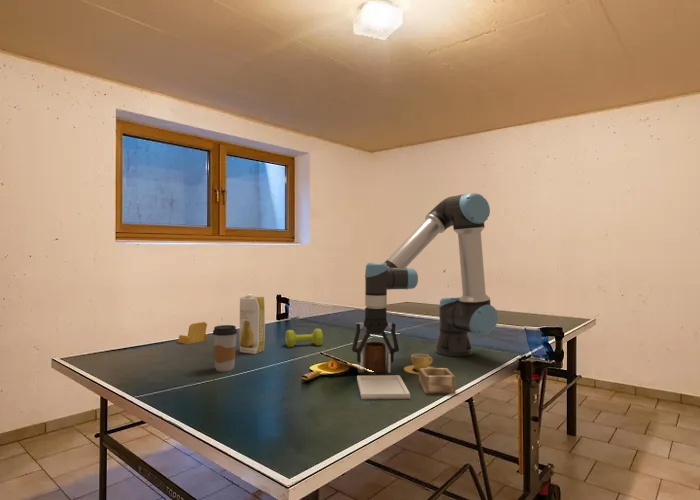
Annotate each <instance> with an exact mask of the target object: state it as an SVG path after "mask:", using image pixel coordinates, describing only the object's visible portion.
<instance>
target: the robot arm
mask: <svg viewBox="0 0 700 500" xmlns="http://www.w3.org/2000/svg"><path fill="white" fill-rule="evenodd" d="M490 212H491V208H490V204H489V202H488V200H487V199H486V198H485V197H484V195H482V194H480V193H475V192H471V193H468V192H467V193H463V194H459V195H452V196H448V197H446V198H444V199H443V200H441V201H439V203H438V204H437V205H435V207H434V208H433V209H432V210H430V212H428V213H427V214H426V215H425V218H424V221H423V222H422V223H421V224H420V225H419V226H418V227H417V228H416V229H415V230H414V232H412V233H411V235H410V236H409V237H407V238H406V240H405V241H404V242H403V243H402V244H401V245H399V247H398V248H397V249H396V250H395V251H394V252H393V253H392V254H391V255H390V256H389V258H387V259H386V260H385V261H384V262H368V263H366V265H365V272H364V273H365V274H364V278H365V285H364V286H365V288H364V289H365V291H364V293H365V296H364V299H365V301H364V305H365V307H364V320H363V322H358V321H357V322H356V323H355V328H356V330H355V334H354V337H353V341H352V345H351V351H352V352H353V353H356V361H357V363H359V367H360V366H361V367H363V368H364V352H363V349H364V346H365V343H367V342H368V339H369V337H370V336H371V335H381V336H382V338H383V340H384V343H385V345H386V347H387V349H388V352H387V351H386V352H387V354H386V355H387V356H386V358H387V359H386V360H387V361H386V363H387V365H386V368H387V369H386V370H387V373H389V374H390V373H391V369H392V367H391V365H392V364H391V363H394V357H395V356H394V355H395V353H398V352H400V347H399V343H398V338H397V333H396V323H395V322H388V321H387V311H388V309H387V305H388V302H387V301H388V295H387V294H388V293H387V292H388V290H389V291H390V290H410V289H411V290H413V289H415V288H416V287H417V286H418V283H419V275H418V272H417V271H416V269H415V268H409V267H408V266H409V265H410V264H411V263H412V262H413V261H414V260H415V259H416V258H417V256H418V255H420V254H421V253H422V251H423V250H424V249H425V248H426V247H427V246H428V245H429V244H430V243H431V242H432V241H433V240H434V239H436V236H438V235H439V234H442V233H444V232H445V231H446V230H447V229H448V228H450V227H453V231H454V232H455V233H456V234H457V239H458V240H457V241H458V252H459V263H460V273H461V274H460V277H461V291H462V295H461V296H460V297H444V298H443V297H442V298H441V299H440V300H439V307H438V308H439V331H438V332H439V334H438V336H437V338H436V339H437V340H436V343H435V345H434V351H435V353H436V354H439V355H442V356H447V357H468V356H471V355H473V346H472V343H471V339H470V337H469V333H472V334H474V335H480V336H483V335H484V336H485V335H488V334H490V333H492V331H494V329H495V327H497V323H498V320H499V313H498V311H497V309H496V308H495V307H494V306H493V305H491V298H490V297H489V295H487V294H486V293H487V292H486V282H485V269H484V267H485V266H484V255H483V243H482V231H483V230H484V229H485V222H486V221H488V218H489V217H490V214H491V213H490ZM363 327H365V329H366V331H365V332H364V335H363V337H362V339H361V342H360V343H359V337H360V334H361V330H362V329H363ZM387 327H388V329H390V333H391V338H392V342H393V347H392V345H391V342H390V340H389V338H388V336H387V334H386V332H385V330H386V328H387ZM358 343H359V345H358ZM357 346H358V347H357Z"/></svg>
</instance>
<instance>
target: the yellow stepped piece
mask: <svg viewBox="0 0 700 500" xmlns="http://www.w3.org/2000/svg"><path fill="white" fill-rule="evenodd" d="M207 327H208V323H206V321H203V322H202V321H201V322H194V323H191V324H190V325H189V327H188V331H187V335H183V334H179V336H178V339H177V343H179V344H183V345H184V344H185V345H189V344H194V343H199V342H204V341H207V338H208V333H207Z"/></svg>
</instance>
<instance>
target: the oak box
mask: <svg viewBox="0 0 700 500" xmlns="http://www.w3.org/2000/svg"><path fill="white" fill-rule="evenodd" d="M418 372H419V374H418V385H419V386H420V388H421V389H422V390H423V392H424V394H456V376H455V375H454V374H453V373H452V372H451V371H450V370H449V368H447V367H434V368H419V371H418Z"/></svg>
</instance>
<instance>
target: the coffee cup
mask: <svg viewBox="0 0 700 500" xmlns="http://www.w3.org/2000/svg"><path fill="white" fill-rule="evenodd" d="M236 326H237V325H232V324H230V325H229V324H224V325H222V324H221V325H217V326H214V327H213V328H214V329H213V331H212V335H213V352H214V353H213V354H214V367H215V370H216V372H220V373H221V372H224V373H225V372H230V371H233V370H234V368H235V359H236V352H237V351H236V349H237V348H236V347H237V346H236V345H237V335H238V330H237V327H236Z"/></svg>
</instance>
